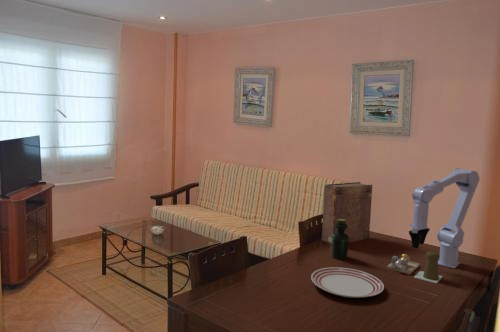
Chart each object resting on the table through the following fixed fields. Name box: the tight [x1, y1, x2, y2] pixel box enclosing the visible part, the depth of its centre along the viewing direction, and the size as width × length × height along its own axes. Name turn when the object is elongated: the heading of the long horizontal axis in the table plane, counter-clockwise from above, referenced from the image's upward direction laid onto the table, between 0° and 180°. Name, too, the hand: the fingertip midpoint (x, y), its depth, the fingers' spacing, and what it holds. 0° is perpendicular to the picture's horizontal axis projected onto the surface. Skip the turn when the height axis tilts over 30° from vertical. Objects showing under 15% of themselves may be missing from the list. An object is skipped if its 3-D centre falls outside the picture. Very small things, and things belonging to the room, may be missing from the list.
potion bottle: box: [331, 219, 350, 260], centre depth 197 cm, size 8×8×18 cm
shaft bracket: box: [386, 255, 421, 275], centre depth 187 cm, size 14×10×6 cm
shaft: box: [394, 253, 411, 267], centre depth 184 cm, size 11×4×4 cm, turn 142°
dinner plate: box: [310, 266, 385, 299], centre depth 163 cm, size 27×27×3 cm
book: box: [321, 181, 373, 245], centre depth 224 cm, size 25×9×30 cm, turn 120°
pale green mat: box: [413, 270, 443, 284], centre depth 176 cm, size 9×9×1 cm
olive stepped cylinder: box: [423, 250, 440, 280], centre depth 175 cm, size 6×6×11 cm
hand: (418, 245), depth 185 cm, fingers open, 7 cm apart
